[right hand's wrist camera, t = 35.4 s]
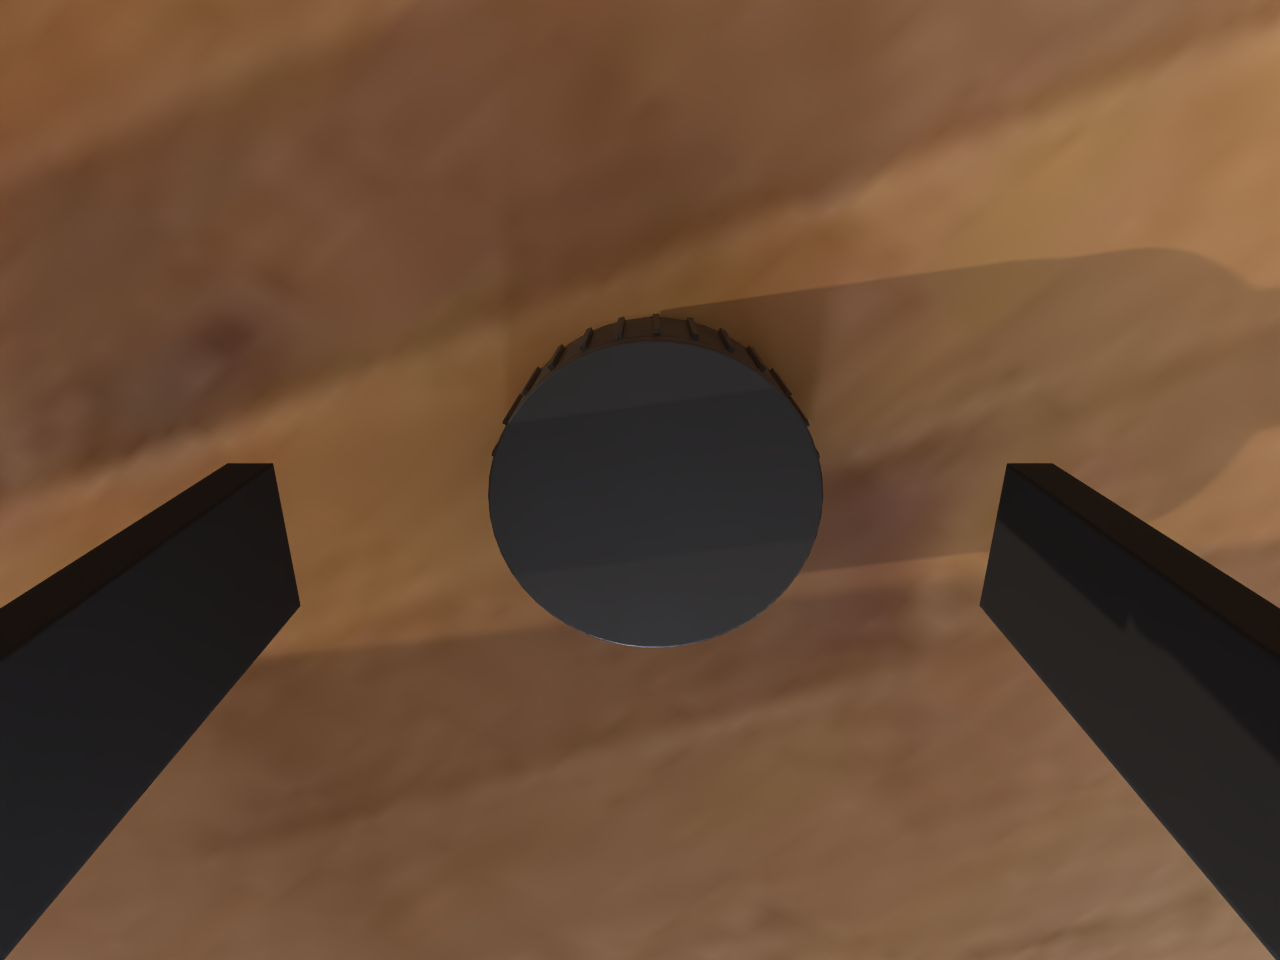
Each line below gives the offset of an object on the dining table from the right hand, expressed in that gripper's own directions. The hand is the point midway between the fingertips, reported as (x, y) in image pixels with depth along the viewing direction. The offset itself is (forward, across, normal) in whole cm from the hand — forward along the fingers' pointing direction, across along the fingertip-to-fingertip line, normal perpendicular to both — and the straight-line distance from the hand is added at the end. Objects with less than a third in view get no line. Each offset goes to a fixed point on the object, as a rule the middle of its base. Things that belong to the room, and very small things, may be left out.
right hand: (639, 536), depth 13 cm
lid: (0, 0, 0) cm, 1 cm away
